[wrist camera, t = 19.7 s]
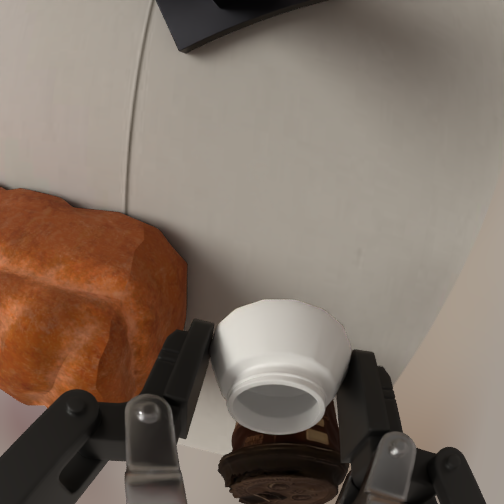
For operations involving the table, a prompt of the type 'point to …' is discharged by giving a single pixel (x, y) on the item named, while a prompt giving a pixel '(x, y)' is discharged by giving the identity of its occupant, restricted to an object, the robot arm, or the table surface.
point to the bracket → (218, 17)
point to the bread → (82, 299)
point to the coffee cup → (286, 464)
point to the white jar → (279, 364)
